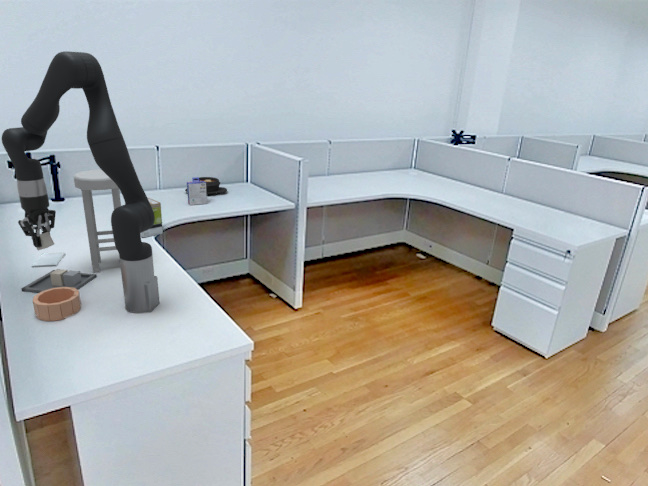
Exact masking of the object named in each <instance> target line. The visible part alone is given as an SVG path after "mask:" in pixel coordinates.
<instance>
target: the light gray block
mask: <svg viewBox="0 0 648 486" xmlns="http://www.w3.org/2000/svg"><path fill="white" fill-rule="evenodd" d="M67 271H68V272H66V273H65V274H63V278H64V284H65V287H72V288H73V287H74V286H76V285H77V284H79V283H80V282H82V281H81V274H80V273H81V271H80V270H67Z"/></svg>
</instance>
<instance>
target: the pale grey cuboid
mask: <svg viewBox="0 0 648 486" xmlns="http://www.w3.org/2000/svg"><path fill="white" fill-rule="evenodd" d="M40 238H41V244H42V247H35V248H36V250H37V251H40V250H45V249H48V248H50V247H52V246H54V245H55V242H54V239H53V238H52V236H51V233H50V234H49V232H45V233H42V232H41V233H40Z"/></svg>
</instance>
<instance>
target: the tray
mask: <svg viewBox="0 0 648 486" xmlns="http://www.w3.org/2000/svg"><path fill="white" fill-rule="evenodd" d="M55 270H56V269H52V270H51V271H49V272H47V273H46V274H44V275H42V276H40V277H39V278H37V279H35V280H33V281H32V282H29V283H28V284H26V285H25V286H23V287H21V288H20V289H21V292H24V293H25V292H26V293H33V294H38V293H40V292H42V291H45V290H48V289H51V288H57V287H61V286H52V281H51V276H50V273H51V272H53V271H55ZM80 274H81V281H82V282H80V283H79V284H77V285H76V286H74V287H73V288H75V289H77V290H80V289H82V288H83V287H85V286H86V285H87V284H89V283H90V282H92V281H93V280H95V279H96V278H97V277H98V275H97V274H98V273H88V272H80ZM62 287H65V285H64V286H62Z"/></svg>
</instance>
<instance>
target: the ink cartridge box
mask: <svg viewBox="0 0 648 486" xmlns="http://www.w3.org/2000/svg"><path fill="white" fill-rule="evenodd" d="M193 179H198V180H193ZM186 189H187V192H186V193H187V204H188V206H195V205H207V204H208V197H207V196H208V195H206V182H205V181H199V177H192V180H191V181H186Z"/></svg>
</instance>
